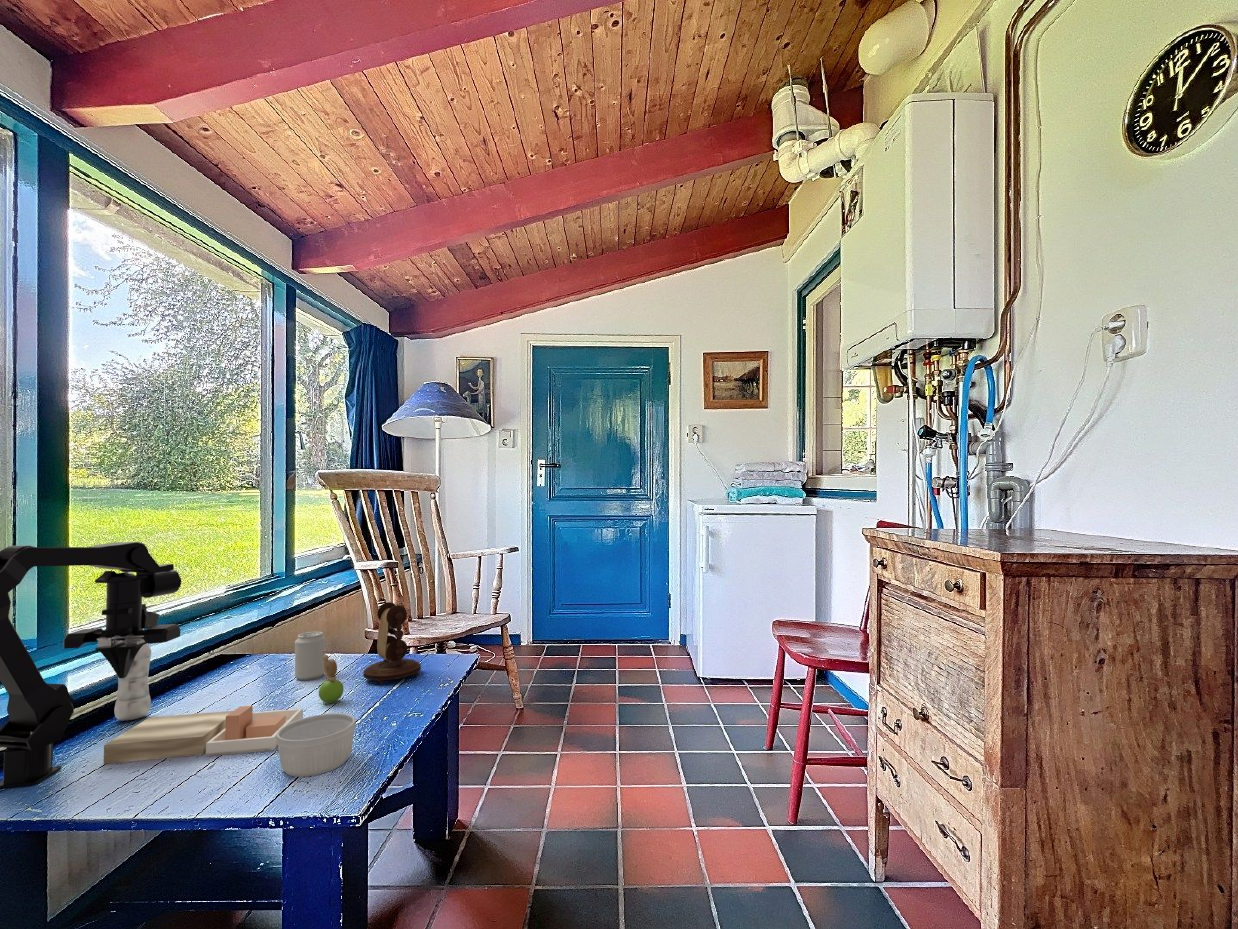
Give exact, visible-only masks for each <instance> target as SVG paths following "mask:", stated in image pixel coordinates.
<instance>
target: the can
mask: <svg viewBox="0 0 1238 929" xmlns="http://www.w3.org/2000/svg"><path fill="white" fill-rule="evenodd" d="M323 634H324V632H323V631H308V632H302V633H299V634H298V635H297V639H295V641H294V656H295V657H294V678H296V679H297V680H300V681H312V680H316V679H319V678H321V677H322V676H323V675H325V672H324V666H323V652H322V651H323V650H324V651H325V650H326V636H324V635H323ZM324 655H326V652H324Z"/></svg>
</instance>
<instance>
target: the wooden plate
mask: <svg viewBox="0 0 1238 929" xmlns="http://www.w3.org/2000/svg"><path fill="white" fill-rule="evenodd" d="M233 711H234V710H227V711H226V710H225V711H216V712H215V711H213V712H201V713H189V714H179V715H178V714H177V715H176V714H175V715H164V716H163V715H161V716H151V717H148V718H146V719H145V720H143V721H141V722H140V723H137V724H136V725H135V726H133V727H131V728H130V729H128V730H126V731H125V732H123V733H121V734H120V735H118V736H116V737H115V738H113V739H111V740H110V741H108V742H106V743H104V745H103V764H104V765H105V764H115V763H125V762H137V761H149V760H157V759H158V760H159V759H168V758H170V759H171V758H182V757H191V756H192V755H194V756H203V755H204V754H206V743H207V742H208V741H210V740H211V739H212V738H213V737H215V736H216V735H217V734H218V733H220V732H221V731H222V730H223V729H225V728H226V716H227V715H228V714H230V713H231V712H233ZM199 754H201V755H199ZM202 754H203V755H202Z"/></svg>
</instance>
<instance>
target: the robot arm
mask: <svg viewBox="0 0 1238 929" xmlns="http://www.w3.org/2000/svg"><path fill="white" fill-rule="evenodd" d="M65 566H66V567H70V566H71V567H73V566H76V567H77V566H89V567H94V568H98V569H104V570H105V569H106V570H105V571H104V572H103V573H102V574H101V575H100V576H98V577H97V578H96V579H95V580H94V583H95V584H106V602H105V604H106V605H105V606H106V607H105V609H102V610H101V616H105V629H104V628H101V627H98V628H95V627H94V628H82V629H80V630H75V631H73V632H70V633H67V634H66V635H65V637H64V638H63V641H62V643H63V644H62V648H63V649H64V650H65V649H79V648H82V647H83V645H85V644H86V643H97V647H95V648H94V650H95V652H100V653H101V654H102V656H103V657H104V658H105V660H106V661H107V662H108V663H109V665H110V666H111V668H112V669H113V671H114V672H115V674H116V676H117V678H118V677H119V678H125V677H127V675H128V672H129V670H130V668H131V665H132V663H133V661H134V659H135V656H136V655H137V653H138V651H139V650H140V648H141V647H142V646H143V645H145V644H148V645H149V644H163V643H168V642H170V641H173V640H175V639H177V638H180V637H181V627H180V626H179V625H178V623H171V624H169V623H168V624H158V622H159V617H160V613H156V612H153V611H148V610H147V605H146V604H147V603H143V598H144V599H149V598H154V597H160V596H166V595H172V594H175V593H176V592H178V591H179V590H180V588H181V585H182V578H181V576H180V573H179V572H178V571H177V570H176V569H175V568H174V567H175V564H174V563H163V564H160V565H159V564H158V563H157V561H156V559H154V558H153V556H152V555H151V554H150V552H149V549H148V547H147V546H146V544H145V543H144V542H141V541H125V542H123V541H116V542H115V541H114V542H108V543H102V544H97V545H93V546H85V547H84V546H79V547H78V546H77V547H76V546H75V547H74V546H72V547H71V546H69V547H68V546H33V545H10V546H6V547H5V548H3V549H1V550H0V683H1V684H2V686H3V688H4V690H5V691H6V692H7V695H8V700H7V706H6V711H7V715H8V720H7V721H6V722H5V723H4V724H3V725H2V726H1V727H0V748H6V749H5V750H4V752H3V777H2V780H1V781H0V789H4V788H14V787H26V786H27V787H28V786H34V785H36V784H38V783H40V782H42V781H43V780H45V779H47V778H48V777H50V776H52V775H53V774H55V773H57V772H58V771H60V770H62V766H61V765H57V766H56V765H55V766H53V765H54V760H53V759H54V743H57V742H59V741H61V740H62V739H63V737H64V735H65V731H66V728H67V726H68V724H69V722H70V720H71V718H72V716H73V714H74V713H75V711H74V710H75V708H74V705H73V703H74V702H76V699H74V697H73V698H72V697H71V695H70V693H69V690H68V687H67V685H66V684H65V683H49V682H46V681H45V679H44V677H43V676H42V674H41V673H40V670H39V669H38V667H37V665H36V664H35V661H34V660H33V658H32V657H31V655H30V653H29V651H28V650H27V647H26V646H25V644H24V642H23V641H22V639H21V637H20V635H19V634H18V631H17V630H16V629H15V626H14V625H13V623H12V621H11V619H10V617H9V616H10V615H9V614H10V610H11V604H12V602H11V601H12V600H11V598H10V594H9V593H10V592H11V591H12V590H14V589H15V588H16V587H17V586H18V585H20V584H21V583H22V581H23V579H24V578H25V576H26V575H27V574H28V572H29V571H30V570H32V569H33V568H34V567H36V568H37V567H65ZM115 570H118V571H120V572H116V571H115ZM134 573H136V574H134ZM141 629H144V630H141ZM129 635H130V636H129Z"/></svg>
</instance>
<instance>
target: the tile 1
mask: <svg viewBox="0 0 1238 929" xmlns="http://www.w3.org/2000/svg"><path fill="white" fill-rule="evenodd" d="M253 707H254V705H243V706H241V705H240V706H239V707H237V708H235V709H234V710H232V711H233V712H231V713H230V714H228V715H227V716H226V735H225V740H236V739H245V738H246V727H247V726H248V725H249V724H251V723H252V712H254V711H253Z"/></svg>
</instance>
